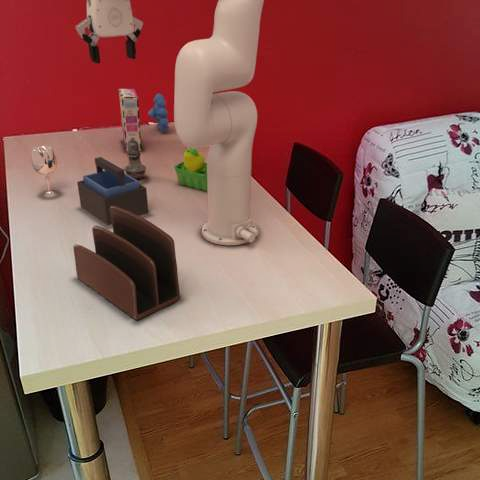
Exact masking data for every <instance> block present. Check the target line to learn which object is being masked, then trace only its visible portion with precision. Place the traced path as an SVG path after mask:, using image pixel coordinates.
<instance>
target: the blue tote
mask: <svg viewBox="0 0 480 480" xmlns="http://www.w3.org/2000/svg"><path fill="white" fill-rule="evenodd" d="M94 164H95V169H96V172H94V173H90V174H85V175H82V180H84V184H85V185H87V186H88V187H90V188H91V189H93V190H95V191H96V192H98V193H99V194H101V195H102V196H104V197H106V198H107V197H110V196H114V195H117V194H121V193H125V192H128V191H132V190H135V189H139V188H140V185H139V184H140V180H136V179H134V178H132V177H130V176H129V175H127V174H126V171H125V170H124V168H121V167H120V166H118V165H117V164H115V163H113V162H111V161H109V160H107V159H105V158H104V157H102V156H99V157H94Z"/></svg>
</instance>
